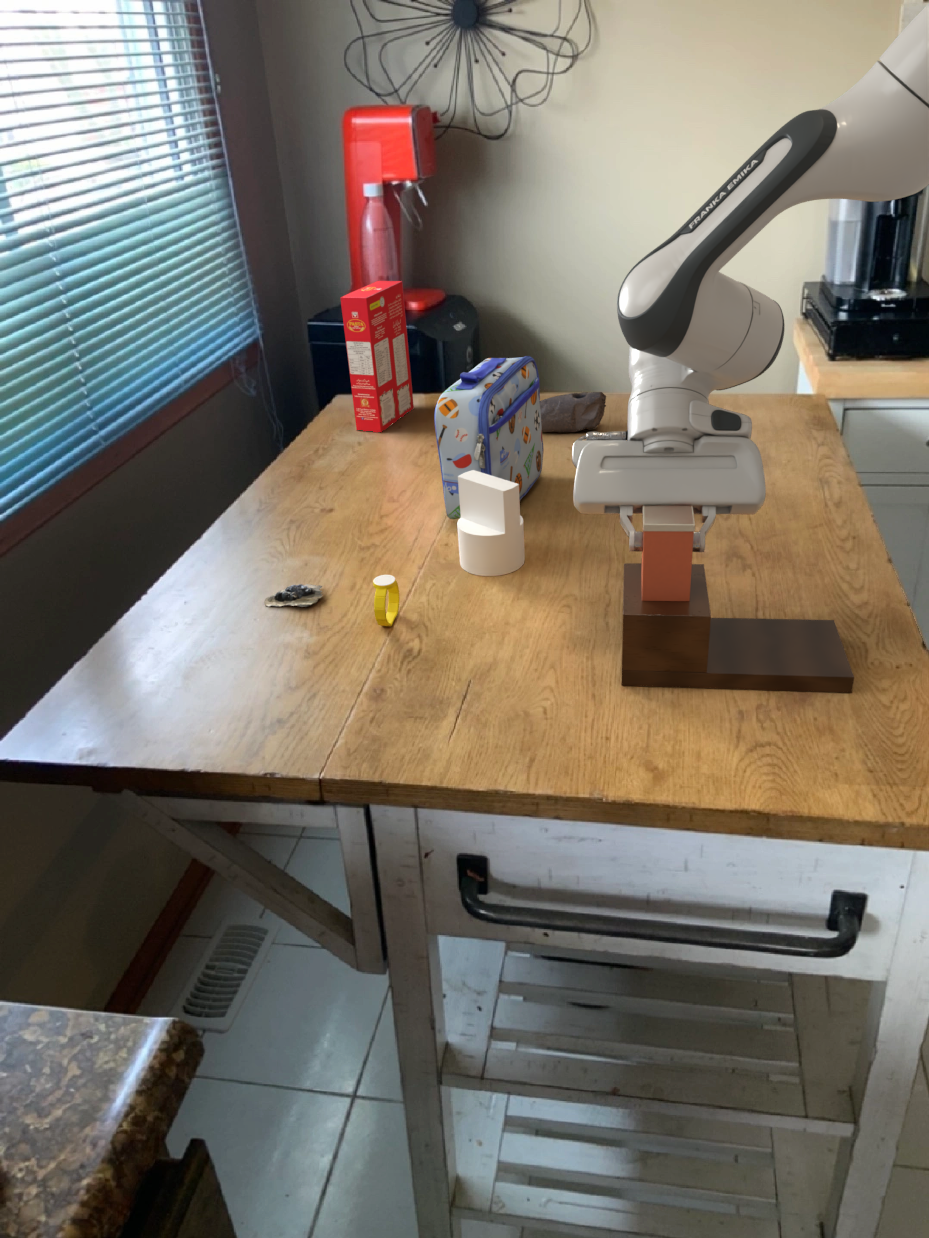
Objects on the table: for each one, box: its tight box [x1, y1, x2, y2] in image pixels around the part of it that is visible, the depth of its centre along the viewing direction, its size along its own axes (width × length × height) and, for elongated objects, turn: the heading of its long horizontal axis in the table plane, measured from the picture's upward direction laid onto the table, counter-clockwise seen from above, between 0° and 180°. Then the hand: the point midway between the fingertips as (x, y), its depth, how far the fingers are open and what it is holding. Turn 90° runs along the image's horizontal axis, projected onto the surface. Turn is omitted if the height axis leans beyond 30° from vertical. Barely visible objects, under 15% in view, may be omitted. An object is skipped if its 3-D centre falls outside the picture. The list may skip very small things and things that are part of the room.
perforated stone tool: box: [540, 391, 607, 433], centre depth 178 cm, size 15×5×7 cm, turn 87°
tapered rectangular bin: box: [641, 505, 696, 601], centre depth 104 cm, size 5×6×9 cm
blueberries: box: [263, 583, 324, 608], centre depth 128 cm, size 7×8×2 cm
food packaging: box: [340, 280, 415, 433], centre depth 186 cm, size 15×5×25 cm, turn 157°
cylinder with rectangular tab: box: [456, 470, 526, 577], centre depth 132 cm, size 9×9×12 cm
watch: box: [372, 574, 400, 627], centre depth 120 cm, size 6×3×6 cm, turn 167°
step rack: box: [620, 562, 855, 694], centre depth 107 cm, size 24×12×9 cm, turn 81°
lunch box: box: [433, 355, 544, 520], centre depth 147 cm, size 28×10×22 cm, turn 161°
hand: (666, 550), depth 103 cm, fingers closed on tapered rectangular bin, 5 cm apart
